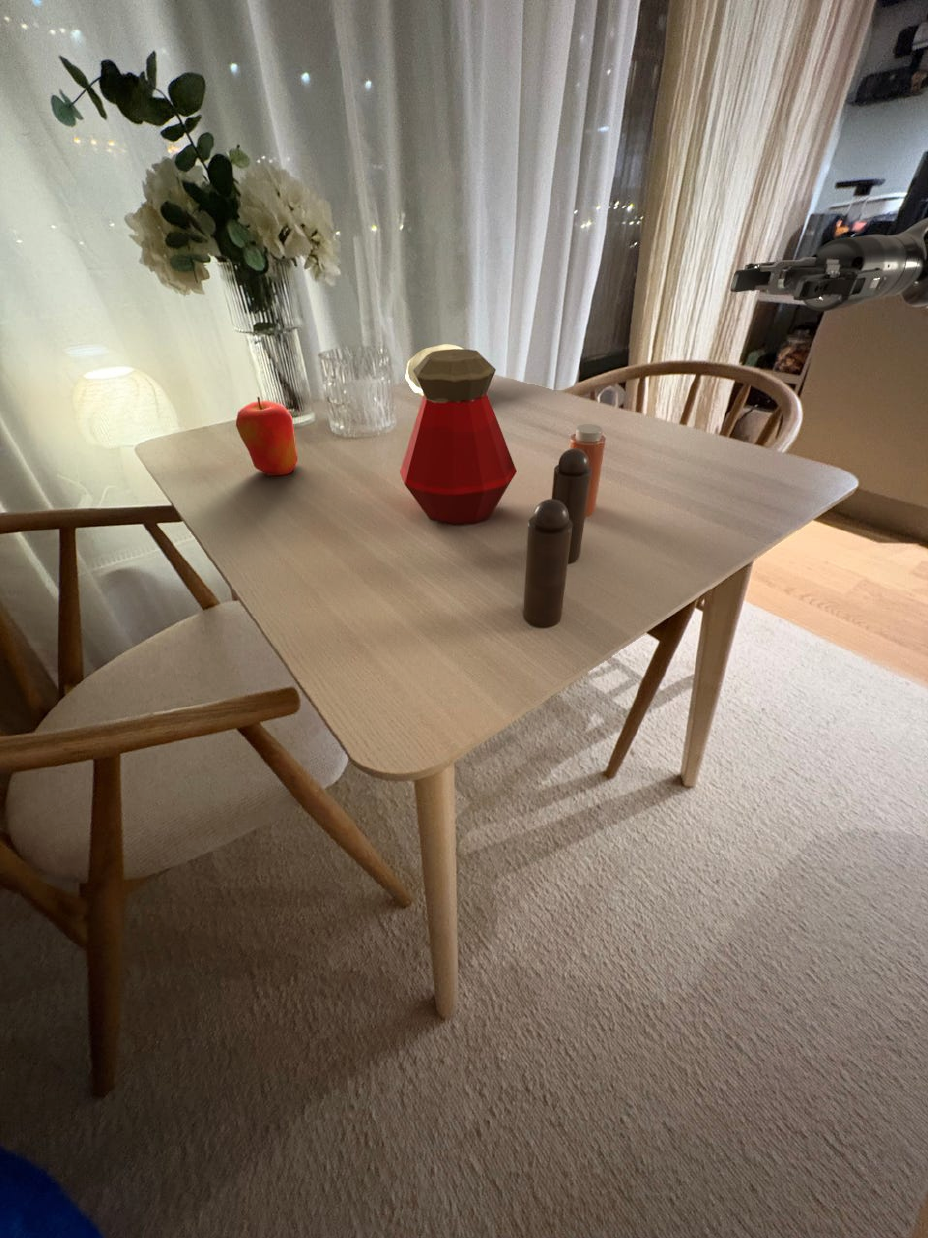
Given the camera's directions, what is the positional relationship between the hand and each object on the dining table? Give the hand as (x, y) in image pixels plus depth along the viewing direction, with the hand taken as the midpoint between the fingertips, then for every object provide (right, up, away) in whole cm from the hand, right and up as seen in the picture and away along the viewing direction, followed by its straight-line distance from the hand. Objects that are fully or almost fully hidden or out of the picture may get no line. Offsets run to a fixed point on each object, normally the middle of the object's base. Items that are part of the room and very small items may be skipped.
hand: (765, 285), depth 57 cm
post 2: (-23, -31, +3) cm, 39 cm away
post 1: (-27, -38, -5) cm, 47 cm away
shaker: (-19, -23, +12) cm, 32 cm away
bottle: (-36, -24, +13) cm, 45 cm away
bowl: (-40, +8, +50) cm, 64 cm away
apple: (-66, -14, +25) cm, 72 cm away
